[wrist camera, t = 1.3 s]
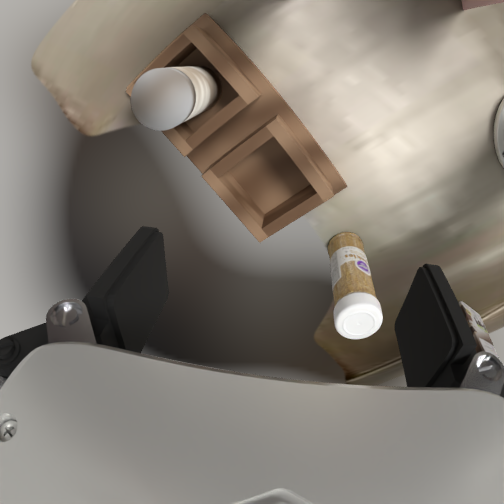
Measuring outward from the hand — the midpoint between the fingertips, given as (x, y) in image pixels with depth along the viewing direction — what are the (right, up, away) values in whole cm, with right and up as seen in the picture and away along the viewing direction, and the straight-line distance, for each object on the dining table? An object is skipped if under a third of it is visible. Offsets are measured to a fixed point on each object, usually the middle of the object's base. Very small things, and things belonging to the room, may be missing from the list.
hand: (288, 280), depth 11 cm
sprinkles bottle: (+10, +2, +28) cm, 30 cm away
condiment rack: (-3, +14, +22) cm, 26 cm away
